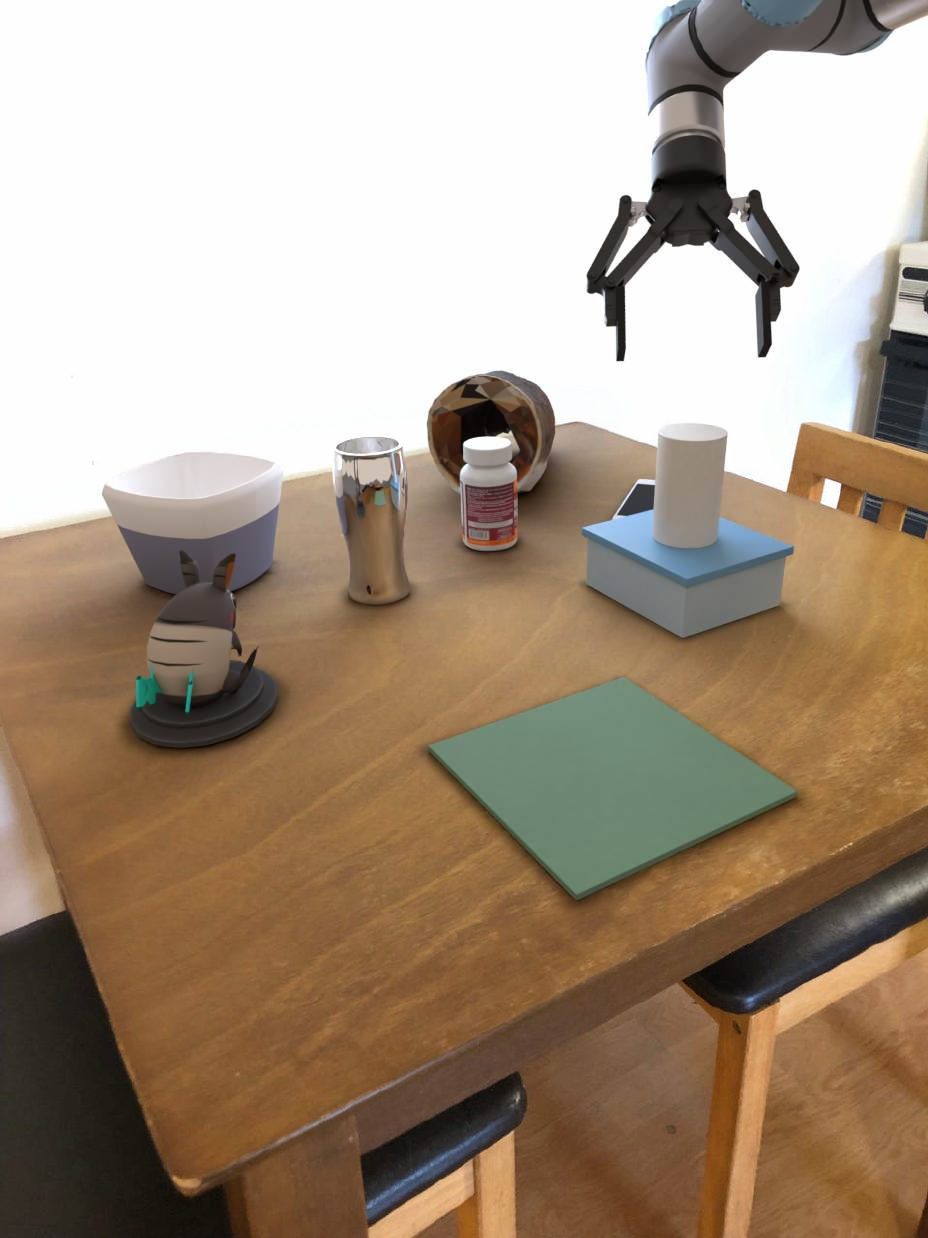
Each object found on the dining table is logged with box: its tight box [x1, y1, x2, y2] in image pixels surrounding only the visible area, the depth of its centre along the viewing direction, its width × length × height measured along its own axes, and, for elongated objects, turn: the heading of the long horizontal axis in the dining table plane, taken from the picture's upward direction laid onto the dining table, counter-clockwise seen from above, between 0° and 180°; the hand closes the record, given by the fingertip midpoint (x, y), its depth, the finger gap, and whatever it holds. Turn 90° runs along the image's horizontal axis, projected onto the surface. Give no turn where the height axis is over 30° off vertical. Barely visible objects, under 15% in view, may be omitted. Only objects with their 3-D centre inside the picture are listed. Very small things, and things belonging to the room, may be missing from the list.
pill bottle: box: [460, 436, 519, 552], centre depth 101 cm, size 6×6×11 cm
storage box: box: [581, 509, 795, 639], centre depth 89 cm, size 15×13×6 cm
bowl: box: [101, 450, 284, 595], centre depth 96 cm, size 15×15×11 cm
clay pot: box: [426, 370, 556, 495], centre depth 124 cm, size 15×15×25 cm
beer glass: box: [331, 434, 411, 606], centre depth 89 cm, size 7×7×15 cm
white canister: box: [652, 422, 728, 548], centre depth 85 cm, size 6×6×10 cm
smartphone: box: [611, 478, 655, 520], centre depth 112 cm, size 7×15×1 cm, turn 159°
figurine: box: [129, 550, 279, 749], centre depth 72 cm, size 11×12×12 cm
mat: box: [428, 676, 798, 902], centre depth 65 cm, size 18×18×1 cm
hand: (692, 353), depth 90 cm, fingers open, 13 cm apart
